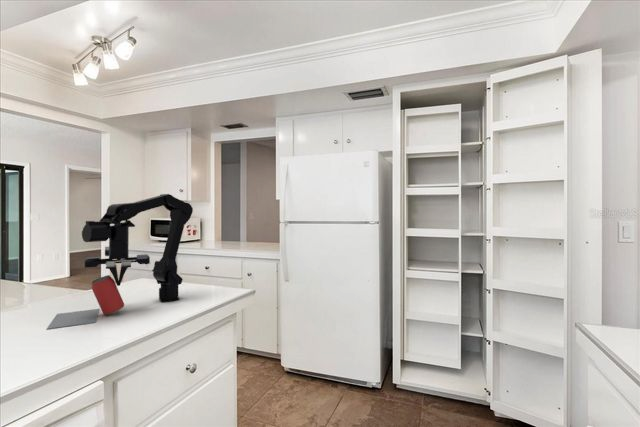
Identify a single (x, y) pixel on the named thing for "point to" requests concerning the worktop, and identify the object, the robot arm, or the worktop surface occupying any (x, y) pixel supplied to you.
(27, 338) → the worktop surface
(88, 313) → the mat
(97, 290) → the beer can
